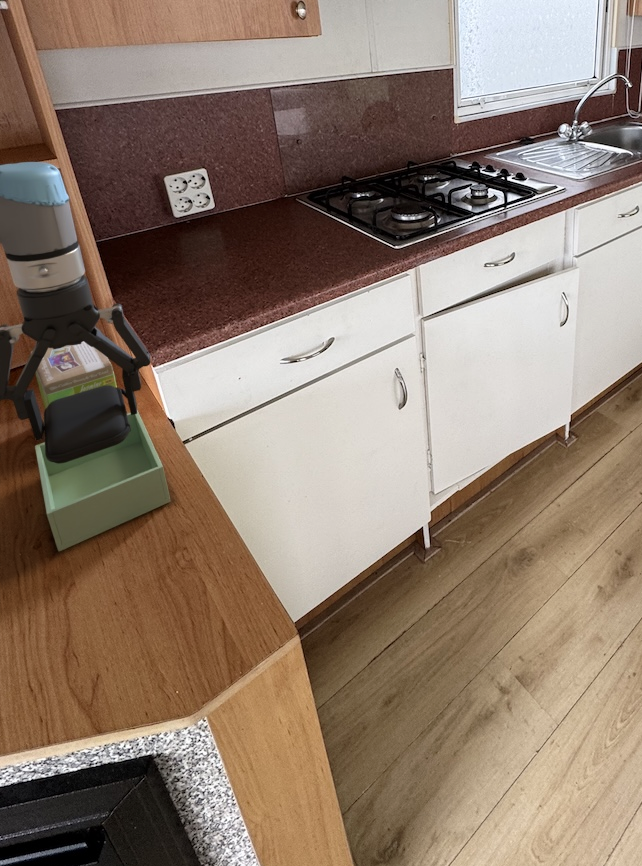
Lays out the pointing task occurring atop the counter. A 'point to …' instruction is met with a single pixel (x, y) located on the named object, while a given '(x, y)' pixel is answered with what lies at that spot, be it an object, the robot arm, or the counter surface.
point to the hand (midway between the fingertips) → (88, 421)
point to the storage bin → (102, 487)
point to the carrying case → (85, 423)
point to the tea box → (72, 372)
